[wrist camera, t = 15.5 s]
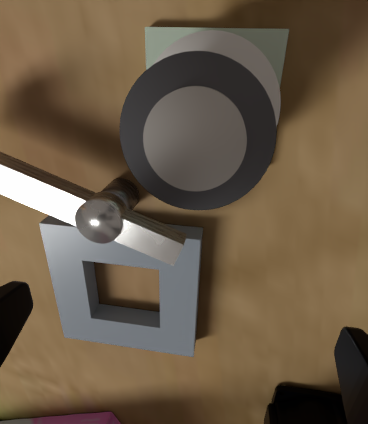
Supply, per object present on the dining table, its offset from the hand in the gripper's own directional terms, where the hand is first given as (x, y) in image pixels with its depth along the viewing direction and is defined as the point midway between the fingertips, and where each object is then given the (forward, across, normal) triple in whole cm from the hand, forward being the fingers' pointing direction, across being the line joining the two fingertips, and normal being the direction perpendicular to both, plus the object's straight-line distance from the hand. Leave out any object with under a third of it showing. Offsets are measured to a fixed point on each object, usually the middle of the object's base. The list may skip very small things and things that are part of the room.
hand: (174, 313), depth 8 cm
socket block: (+11, +6, +9) cm, 15 cm away
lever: (+11, +8, +1) cm, 14 cm away
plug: (+11, 0, -4) cm, 12 cm away
